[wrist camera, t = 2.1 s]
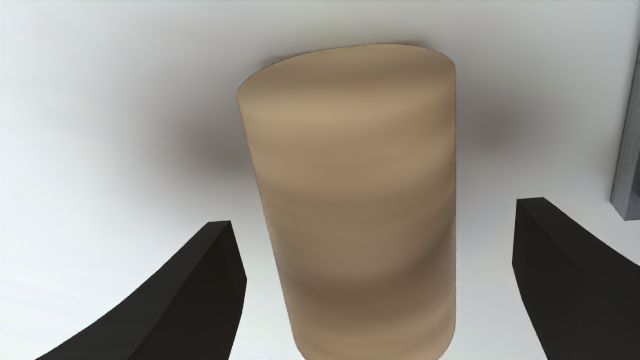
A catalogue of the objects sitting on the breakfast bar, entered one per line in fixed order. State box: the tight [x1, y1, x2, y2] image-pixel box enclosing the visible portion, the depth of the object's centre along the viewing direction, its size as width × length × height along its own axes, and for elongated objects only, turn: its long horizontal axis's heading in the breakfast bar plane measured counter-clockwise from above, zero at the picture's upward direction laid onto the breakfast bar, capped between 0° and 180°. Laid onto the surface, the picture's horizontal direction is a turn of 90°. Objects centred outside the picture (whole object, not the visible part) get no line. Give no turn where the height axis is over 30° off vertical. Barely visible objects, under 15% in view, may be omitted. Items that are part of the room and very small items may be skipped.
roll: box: [237, 44, 456, 360], centre depth 14 cm, size 8×5×5 cm, turn 8°
